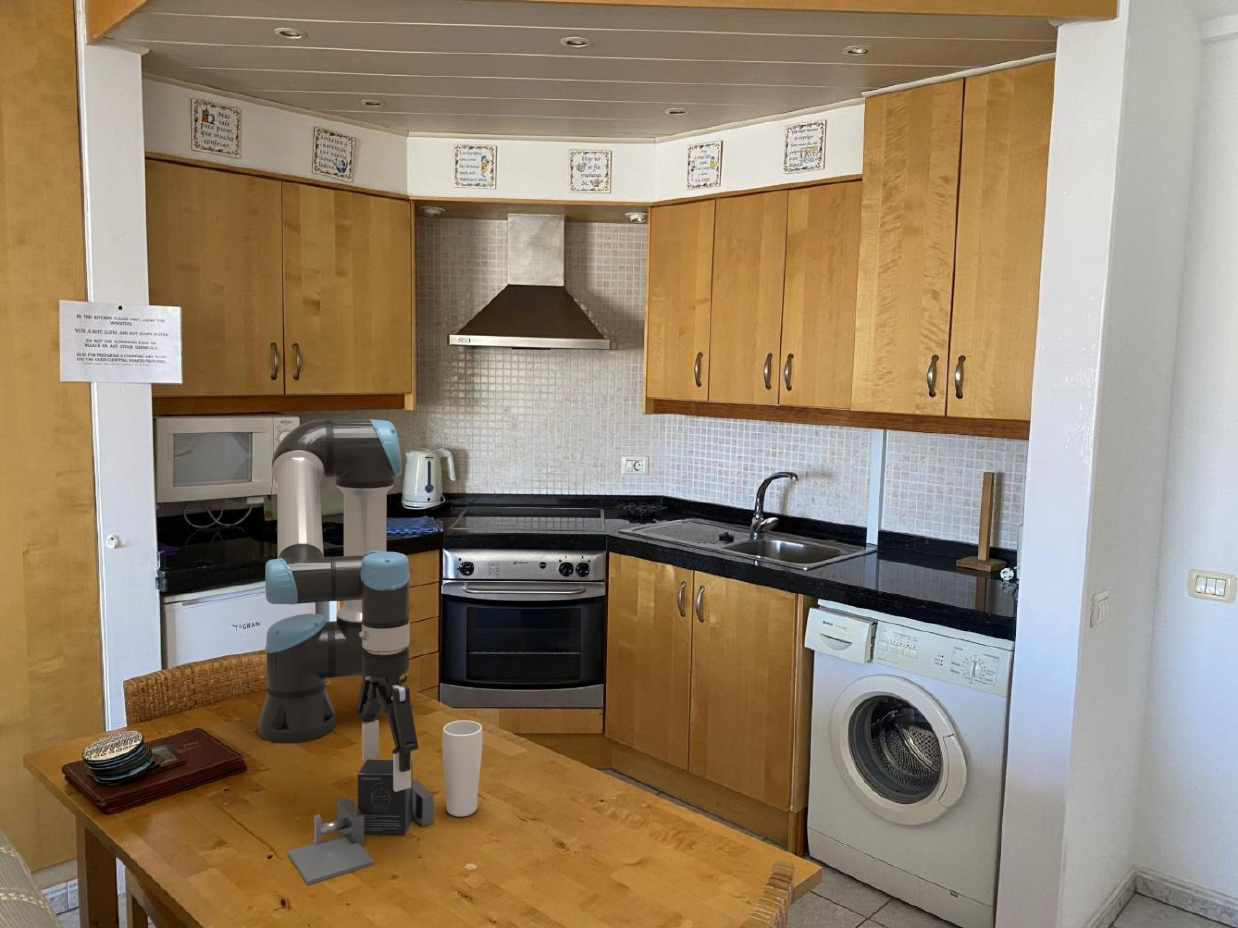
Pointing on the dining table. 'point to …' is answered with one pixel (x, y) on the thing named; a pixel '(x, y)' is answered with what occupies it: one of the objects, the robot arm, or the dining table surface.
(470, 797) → the drinking glass
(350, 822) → the vise
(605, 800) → the dining table surface
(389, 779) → the box
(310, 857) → the mat
